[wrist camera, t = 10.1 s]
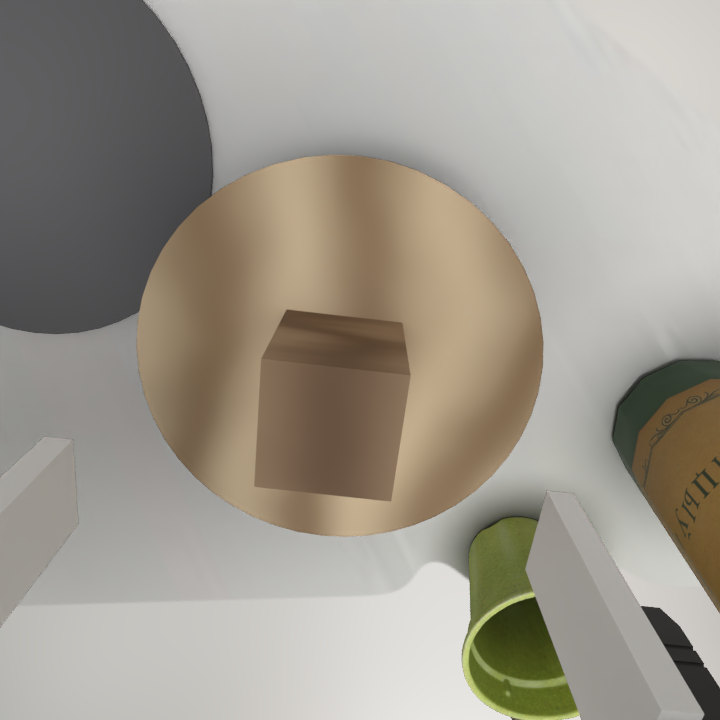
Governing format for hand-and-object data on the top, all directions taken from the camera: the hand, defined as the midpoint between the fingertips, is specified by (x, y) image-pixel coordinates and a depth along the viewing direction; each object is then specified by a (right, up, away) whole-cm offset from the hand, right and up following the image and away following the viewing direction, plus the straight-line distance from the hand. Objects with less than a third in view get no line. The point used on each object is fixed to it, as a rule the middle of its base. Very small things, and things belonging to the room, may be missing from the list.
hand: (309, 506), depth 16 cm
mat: (-16, +15, +14) cm, 27 cm away
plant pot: (+12, -9, +23) cm, 27 cm away
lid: (0, +4, +11) cm, 11 cm away
